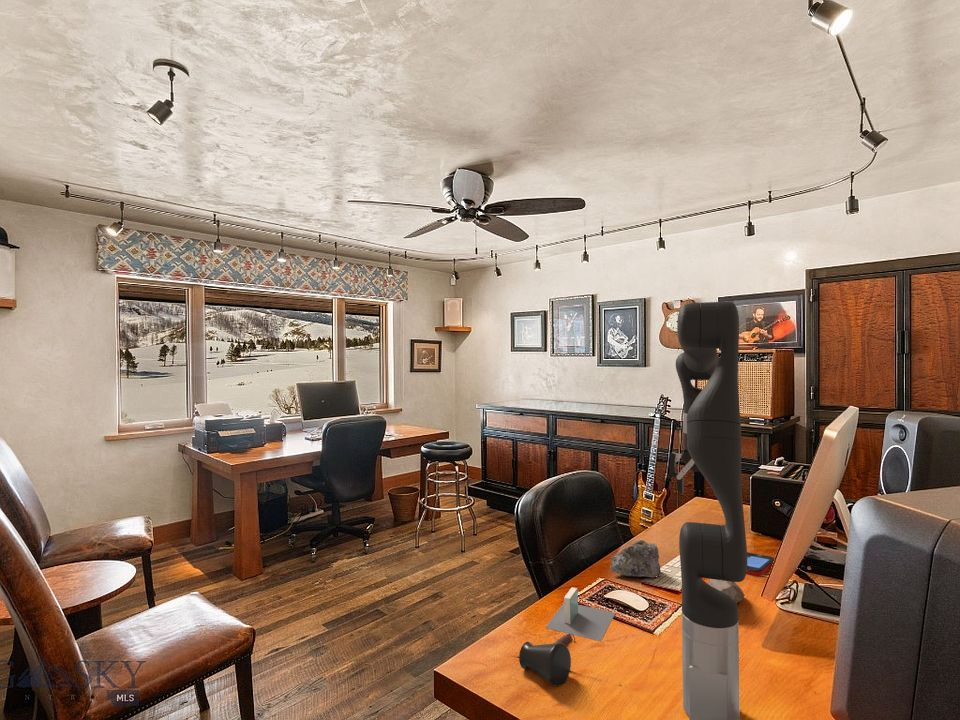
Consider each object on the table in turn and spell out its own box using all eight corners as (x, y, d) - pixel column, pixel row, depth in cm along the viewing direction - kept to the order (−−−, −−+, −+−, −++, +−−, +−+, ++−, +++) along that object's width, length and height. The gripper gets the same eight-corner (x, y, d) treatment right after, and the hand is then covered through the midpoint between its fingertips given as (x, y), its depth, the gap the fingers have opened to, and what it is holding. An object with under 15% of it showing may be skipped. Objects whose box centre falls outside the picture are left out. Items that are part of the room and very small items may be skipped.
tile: (570, 624, 122) (570, 598, 122) (564, 622, 122) (563, 597, 122) (578, 612, 127) (577, 588, 127) (572, 611, 128) (571, 587, 128)
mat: (600, 643, 114) (600, 641, 114) (545, 629, 120) (545, 627, 120) (615, 614, 127) (615, 612, 127) (564, 603, 133) (564, 601, 133)
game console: (734, 553, 165) (734, 546, 165) (778, 565, 156) (778, 557, 156) (714, 566, 156) (714, 558, 155) (759, 579, 146) (759, 571, 146)
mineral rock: (608, 576, 149) (608, 541, 149) (619, 563, 158) (619, 530, 158) (655, 586, 142) (654, 549, 142) (663, 572, 151) (663, 537, 151)
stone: (715, 622, 123) (747, 595, 122) (687, 590, 128) (717, 563, 127) (717, 620, 135) (747, 595, 135) (692, 590, 140) (720, 566, 140)
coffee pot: (551, 693, 98) (516, 681, 103) (600, 663, 111) (566, 654, 116) (548, 649, 99) (514, 640, 105) (597, 625, 112) (564, 618, 118)
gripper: (666, 431, 131) (667, 496, 131) (729, 435, 124) (730, 502, 124) (671, 428, 138) (672, 489, 138) (731, 431, 131) (731, 495, 131)
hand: (699, 495), depth 131 cm, fingers open, 8 cm apart
